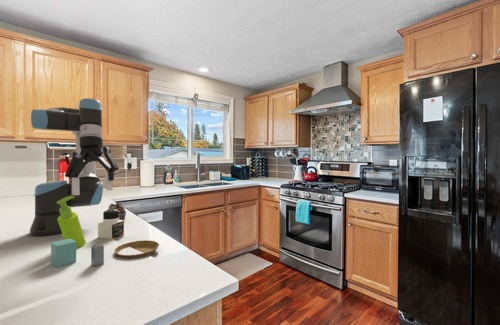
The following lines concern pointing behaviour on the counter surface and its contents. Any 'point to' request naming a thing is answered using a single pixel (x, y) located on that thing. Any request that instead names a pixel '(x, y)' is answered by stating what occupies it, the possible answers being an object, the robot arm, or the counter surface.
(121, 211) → the cupcake
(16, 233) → the counter surface
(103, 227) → the medicine bottle
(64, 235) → the soap dispenser
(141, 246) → the plant saucer
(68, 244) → the teal foam cube
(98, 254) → the post grey
